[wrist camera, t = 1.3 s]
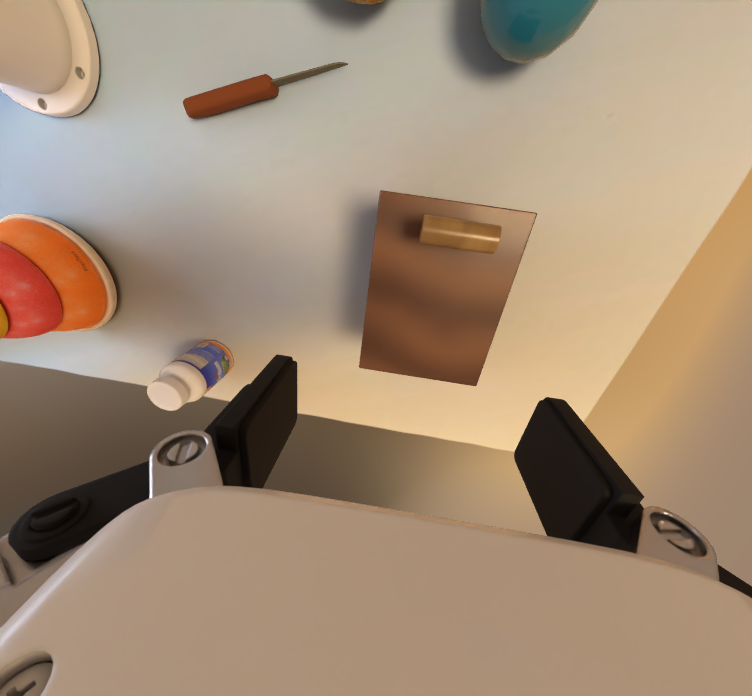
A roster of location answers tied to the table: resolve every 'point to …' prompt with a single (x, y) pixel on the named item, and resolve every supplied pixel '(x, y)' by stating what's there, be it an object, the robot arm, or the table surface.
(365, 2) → the cracked brown sphere
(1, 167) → the table surface
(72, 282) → the stacking toy
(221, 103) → the brown screwdriver
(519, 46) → the ball
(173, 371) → the pill bottle
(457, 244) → the lid
